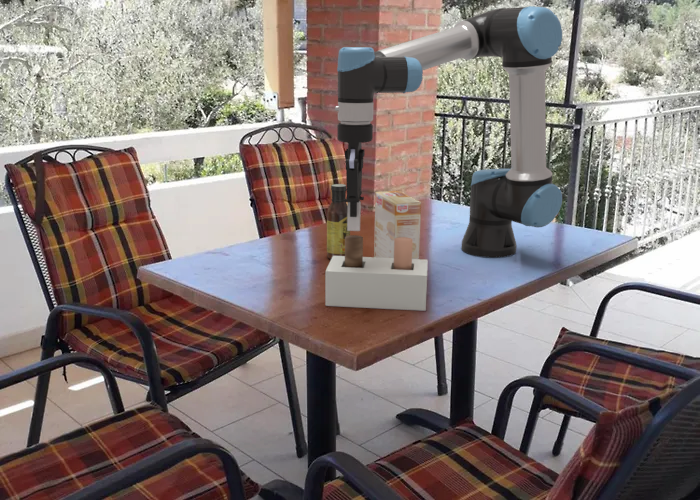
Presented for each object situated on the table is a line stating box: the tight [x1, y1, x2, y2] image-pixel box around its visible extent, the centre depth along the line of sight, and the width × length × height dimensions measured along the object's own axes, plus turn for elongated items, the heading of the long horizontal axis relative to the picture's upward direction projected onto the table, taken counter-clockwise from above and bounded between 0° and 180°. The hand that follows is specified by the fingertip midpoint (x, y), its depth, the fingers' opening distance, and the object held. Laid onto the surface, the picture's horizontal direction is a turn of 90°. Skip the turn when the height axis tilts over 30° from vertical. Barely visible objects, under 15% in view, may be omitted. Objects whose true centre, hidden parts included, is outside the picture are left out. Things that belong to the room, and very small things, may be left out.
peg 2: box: [394, 237, 413, 270], centre depth 158 cm, size 4×4×8 cm
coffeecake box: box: [373, 190, 422, 259], centre depth 178 cm, size 15×7×20 cm, turn 17°
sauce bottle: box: [326, 183, 351, 260], centre depth 189 cm, size 7×6×20 cm
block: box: [324, 256, 429, 312], centre depth 160 cm, size 22×12×8 cm, turn 83°
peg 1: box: [345, 234, 364, 268], centre depth 159 cm, size 4×4×8 cm
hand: (353, 230), depth 157 cm, fingers closed
